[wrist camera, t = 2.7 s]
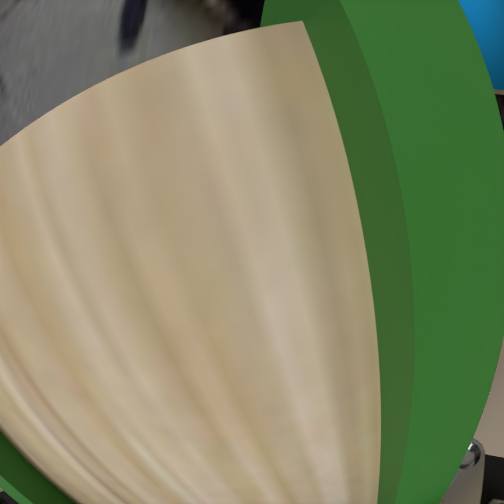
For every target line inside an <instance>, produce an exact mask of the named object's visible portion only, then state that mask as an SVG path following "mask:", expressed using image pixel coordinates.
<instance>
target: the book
mask: <svg viewBox="0 0 504 504" xmlns="http://www.w3.org/2000/svg"><path fill="white" fill-rule="evenodd" d="M458 1H459V3H460V5H461V7H462V9H463V11H464V13H465V15H466V17H467V20H468V22H469V24H470V26H471V28H472V31H473V33H474V35H475V38H476V40H477V43H478V45H479V48H480V51H481V53H482V56H483V59H484V62H485V64H486V67H487V70H488V73H489V76H490V80H491V83H492V86H493V90H494V93H495V94H501V95H504V0H458Z"/></svg>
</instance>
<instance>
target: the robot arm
mask: <svg viewBox="0 0 504 504" xmlns="http://www.w3.org/2000/svg"><path fill="white" fill-rule="evenodd" d="M0 504H19V503H18V502H17V501H15V500H14V499H13V498H12V497H10V496H9V495H8V494H7V493H6V492H5V491H3V492H0ZM439 504H504V458H502V457H496V456H491V455H486V454H485V451H484V448H483V446H482V444H481V443H480V442H479V441H478V440H476V439H474V438H472V441H471V443H470V445H469V448H468V450H467V452H466V454H465V456H464V458H463V461H462V463H461V465H460V467H459V469H458V471H457V473H456V475H455V477H454V478H453V480H452V482H451V484H450V486H449V488H448V489H447V491H446V493H445V495H444V496H443V498H442V500H441V501H440V503H439Z"/></svg>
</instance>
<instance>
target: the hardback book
mask: <svg viewBox="0 0 504 504" xmlns="http://www.w3.org/2000/svg"><path fill="white" fill-rule="evenodd" d="M503 336H504V131H503V126H502V122H501V117H500V113H499V109H498V105H497V101H496V97H495V93H494V90H493V86H492V83H491V80H490V76H489V73H488V70H487V67H486V64H485V62H484V59H483V56H482V53H481V51H480V48H479V45H478V43H477V40H476V38H475V35H474V33H473V31H472V28H471V26H470V24H469V22H468V20H467V17H466V15H465V13H464V11H463V9H462V7H461V5H460V3H459V1H458V0H265V2H264V8H263V13H262V19H261V25H260V28H256V29H251V30H246V31H242V32H238V33H233V34H229V35H225V36H222V37H218V38H214V39H211V40H207V41H204V42H201V43H197V44H194V45H191V46H188V47H185V48H182V49H179V50H176V51H173V52H170V53H168V54H165V55H162V56H160V57H157V58H154V59H152V60H149V61H147V62H144V63H142V64H140V65H137V66H135V67H133V68H130V69H128V70H126V71H124V72H121V73H119V74H117V75H115V76H113V77H111V78H109V79H107V80H105V81H103V82H101V83H99V84H97V85H95V86H93V87H91V88H89V89H87V90H85V91H83V92H82V93H80V94H78V95H76V96H74V97H73V98H71V99H69V100H68V101H66V102H64V103H63V104H61V105H59V106H58V107H56V108H54V109H53V110H51V111H50V112H48V113H46V114H45V115H43V116H42V117H40V118H39V119H37V120H36V121H34V122H33V123H31V124H30V125H29V126H27V127H26V128H24V129H23V130H22V131H20V132H19V133H17V134H16V135H15V136H13V137H12V138H11V139H9V140H8V141H7V142H6V143H4V144H3V145H2V146H1V147H0V488H1V489H2V490H4V491H5V492H6V493H7V494H8V495H9V496H10V497H12V498H13V499H14V500H15V501H17V502H18V503H19V504H439V503H440V501H441V500H442V498H443V496H444V495H445V493H446V491H447V489H448V488H449V486H450V484H451V482H452V480H453V478H454V477H455V475H456V473H457V471H458V469H459V467H460V465H461V463H462V461H463V458H464V456H465V454H466V452H467V450H468V448H469V445H470V443H471V441H472V438H473V436H474V433H475V431H476V429H477V426H478V423H479V421H480V418H481V415H482V413H483V410H484V407H485V404H486V401H487V398H488V395H489V392H490V388H491V385H492V381H493V378H494V374H495V371H496V367H497V363H498V359H499V354H500V350H501V346H502V341H503Z"/></svg>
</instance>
